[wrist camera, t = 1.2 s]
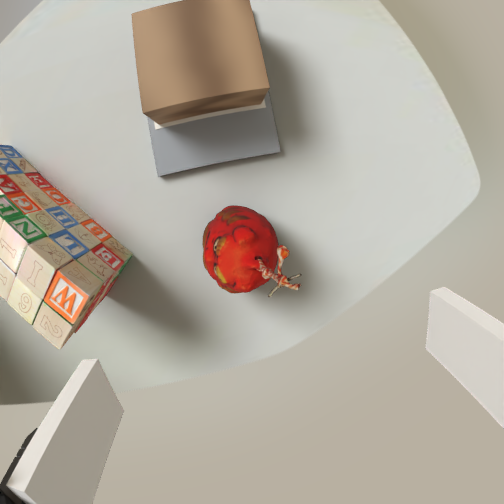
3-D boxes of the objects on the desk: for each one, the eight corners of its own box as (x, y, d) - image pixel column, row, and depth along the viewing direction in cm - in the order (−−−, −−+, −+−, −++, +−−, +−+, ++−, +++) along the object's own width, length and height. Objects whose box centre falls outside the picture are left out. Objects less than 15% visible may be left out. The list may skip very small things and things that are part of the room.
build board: (159, 176, 29) (157, 176, 28) (138, 30, 24) (136, 27, 24) (279, 152, 29) (280, 151, 28) (248, 8, 25) (248, 5, 24)
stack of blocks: (-9, 187, 27) (-77, 199, 15) (11, 144, 26) (-59, 141, 14) (107, 296, 31) (59, 353, 20) (135, 253, 31) (89, 298, 19)
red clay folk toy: (200, 206, 30) (177, 235, 15) (271, 200, 30) (312, 223, 16) (208, 279, 32) (197, 361, 17) (276, 273, 32) (314, 348, 18)
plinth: (158, 124, 27) (142, 113, 21) (146, 39, 24) (131, 13, 18) (261, 104, 27) (269, 87, 21) (242, 20, 25) (246, -10, 19)
